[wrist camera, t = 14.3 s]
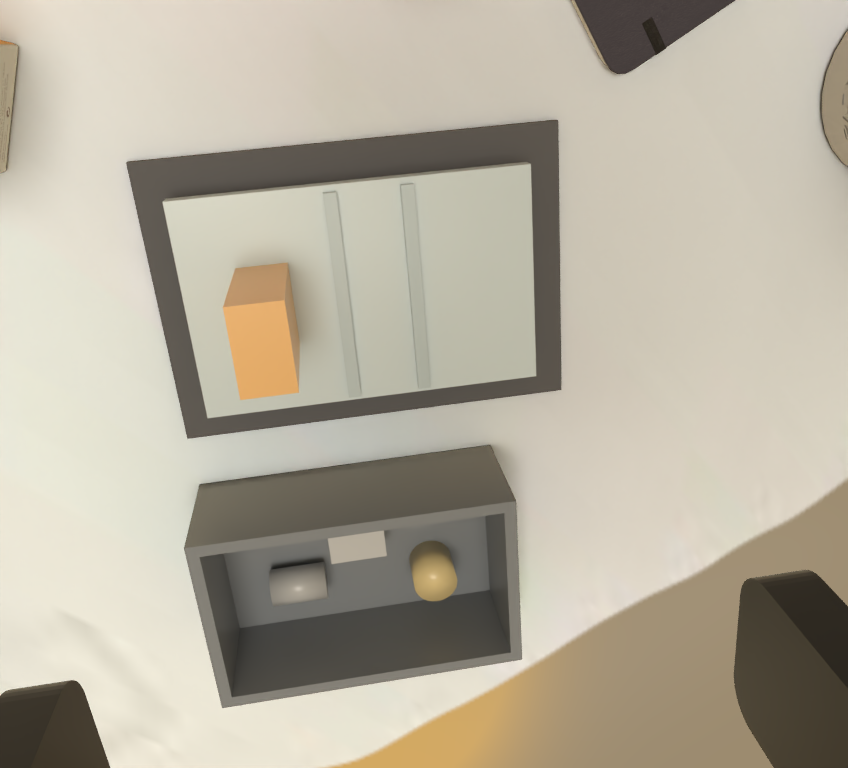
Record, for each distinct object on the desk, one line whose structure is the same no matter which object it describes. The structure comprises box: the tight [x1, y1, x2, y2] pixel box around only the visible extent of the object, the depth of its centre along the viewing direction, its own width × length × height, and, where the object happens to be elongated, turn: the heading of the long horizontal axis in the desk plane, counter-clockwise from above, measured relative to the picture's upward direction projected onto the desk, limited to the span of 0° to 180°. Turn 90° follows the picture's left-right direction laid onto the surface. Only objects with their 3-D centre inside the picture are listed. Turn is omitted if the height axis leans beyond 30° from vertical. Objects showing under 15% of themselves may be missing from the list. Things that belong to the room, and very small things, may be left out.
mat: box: [126, 120, 561, 439], centre depth 40 cm, size 20×14×1 cm
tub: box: [184, 445, 522, 708], centre depth 43 cm, size 16×10×6 cm, turn 95°
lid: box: [163, 162, 536, 418], centre depth 36 cm, size 17×11×8 cm, turn 95°
